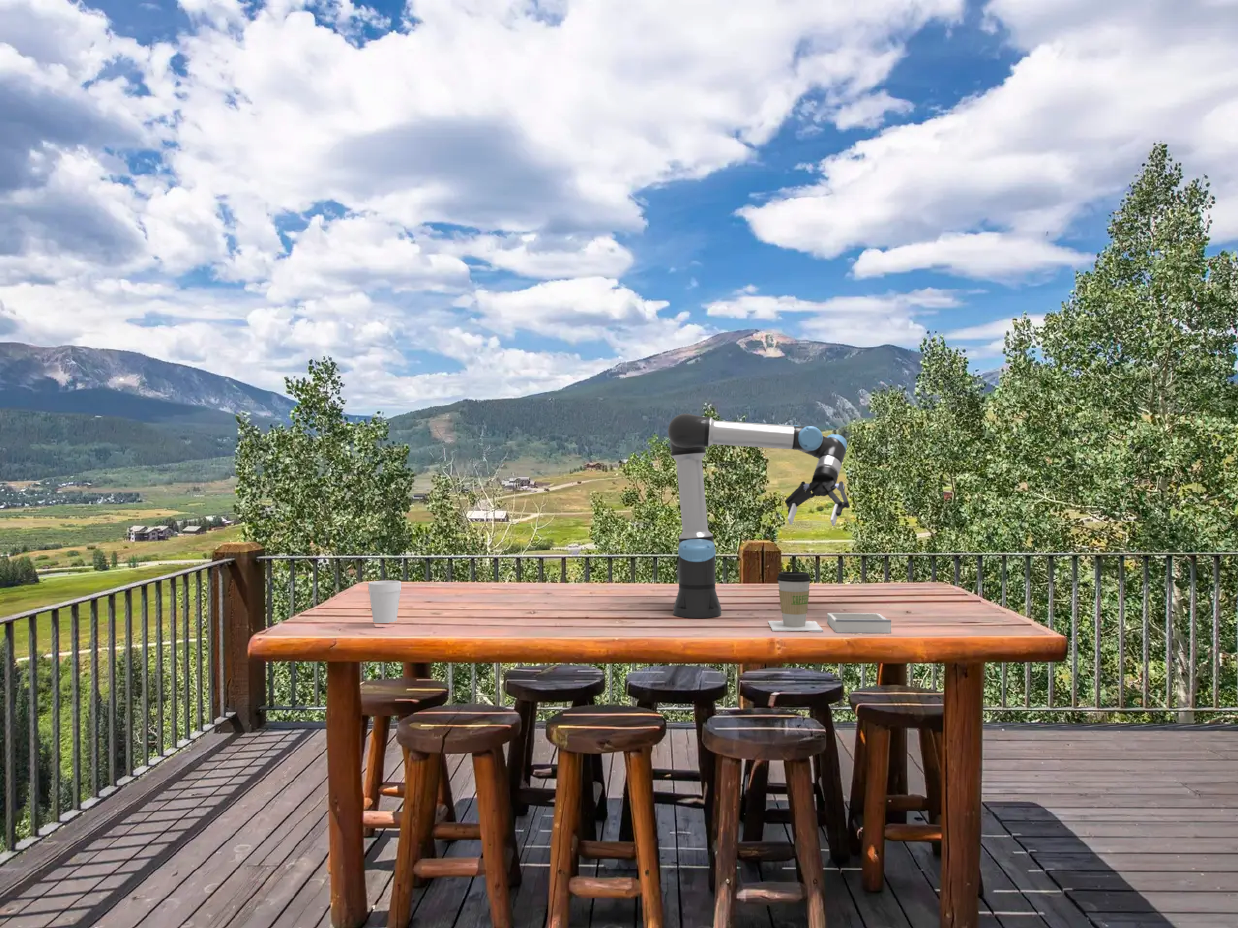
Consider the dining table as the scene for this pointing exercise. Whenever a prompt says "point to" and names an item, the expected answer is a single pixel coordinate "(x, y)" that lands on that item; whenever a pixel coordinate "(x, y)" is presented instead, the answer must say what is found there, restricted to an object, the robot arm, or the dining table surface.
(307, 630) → the dining table surface
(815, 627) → the rubber mat
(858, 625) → the cup holder
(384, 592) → the foam cup
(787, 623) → the coffee cup
